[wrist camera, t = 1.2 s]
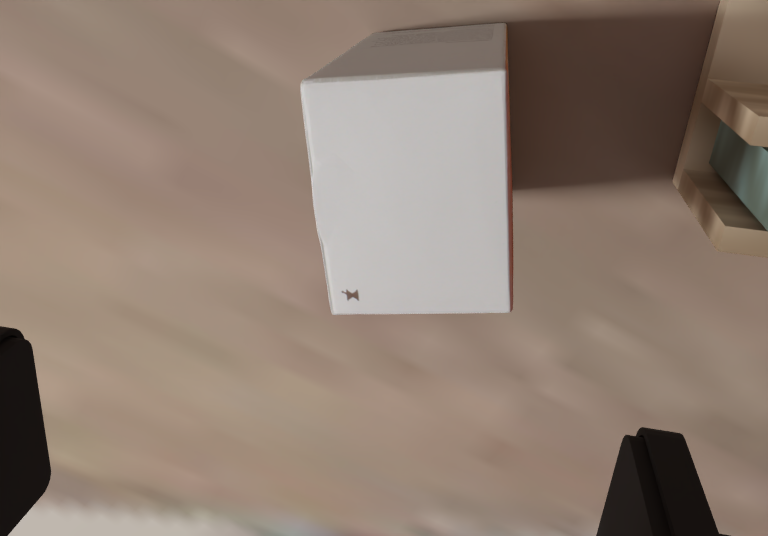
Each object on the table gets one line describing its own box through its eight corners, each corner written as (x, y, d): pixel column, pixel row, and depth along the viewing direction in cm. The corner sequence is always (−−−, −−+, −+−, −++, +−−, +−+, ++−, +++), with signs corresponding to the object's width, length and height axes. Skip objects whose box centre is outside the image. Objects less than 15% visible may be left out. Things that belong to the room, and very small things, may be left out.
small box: (513, 191, 35) (514, 320, 23) (386, 196, 36) (326, 320, 24) (510, 17, 32) (509, 65, 20) (370, 29, 33) (291, 80, 21)
